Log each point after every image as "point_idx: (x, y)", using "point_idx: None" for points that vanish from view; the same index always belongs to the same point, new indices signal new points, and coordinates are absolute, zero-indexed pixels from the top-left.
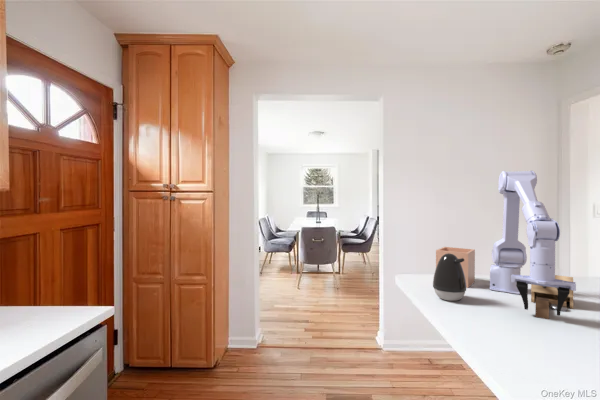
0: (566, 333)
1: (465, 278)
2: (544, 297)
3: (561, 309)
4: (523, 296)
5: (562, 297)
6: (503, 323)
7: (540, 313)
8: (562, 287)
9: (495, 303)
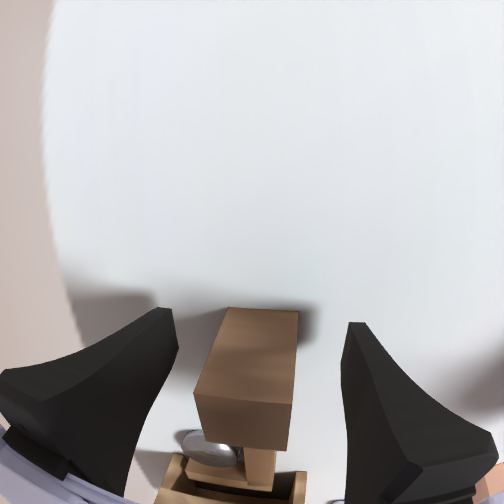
0: (127, 94)
1: (495, 491)
2: (263, 500)
3: (196, 436)
4: (401, 385)
5: (55, 371)
6: (464, 48)
7: (268, 327)
8: (38, 465)
9: (461, 398)
